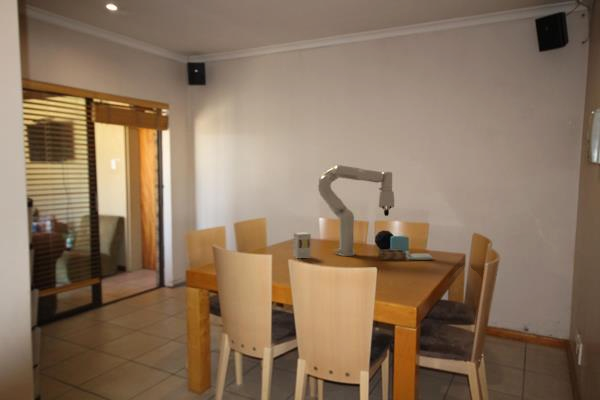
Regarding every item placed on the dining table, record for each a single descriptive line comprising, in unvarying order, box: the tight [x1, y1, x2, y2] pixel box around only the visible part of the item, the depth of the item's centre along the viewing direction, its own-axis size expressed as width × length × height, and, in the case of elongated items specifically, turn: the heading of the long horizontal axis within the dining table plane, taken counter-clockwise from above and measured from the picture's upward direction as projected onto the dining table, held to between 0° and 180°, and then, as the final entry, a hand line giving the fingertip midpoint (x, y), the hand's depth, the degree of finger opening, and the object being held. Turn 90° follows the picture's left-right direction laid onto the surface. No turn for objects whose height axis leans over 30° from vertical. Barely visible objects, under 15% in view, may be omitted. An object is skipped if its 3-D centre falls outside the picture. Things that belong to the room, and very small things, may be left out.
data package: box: [389, 235, 410, 253], centre depth 298 cm, size 12×4×12 cm, turn 93°
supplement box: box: [293, 231, 312, 260], centre depth 285 cm, size 10×9×17 cm
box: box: [377, 249, 407, 261], centre depth 280 cm, size 16×11×5 cm
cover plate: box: [405, 251, 434, 261], centre depth 280 cm, size 16×13×5 cm
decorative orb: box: [374, 229, 394, 250], centre depth 312 cm, size 14×15×15 cm
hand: (386, 215), depth 294 cm, fingers closed
